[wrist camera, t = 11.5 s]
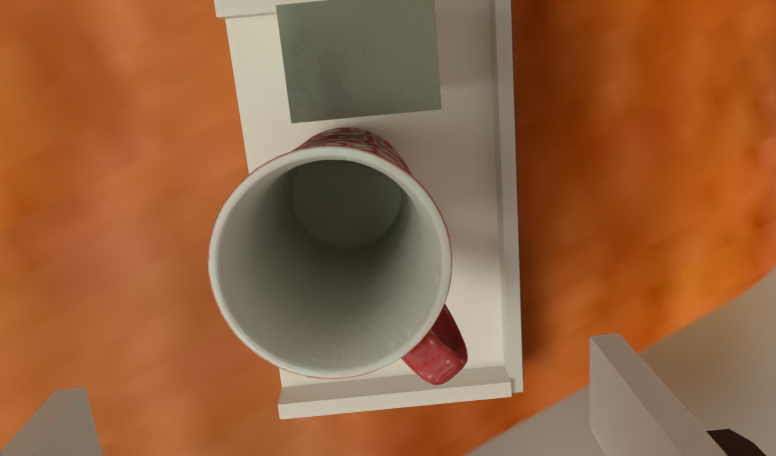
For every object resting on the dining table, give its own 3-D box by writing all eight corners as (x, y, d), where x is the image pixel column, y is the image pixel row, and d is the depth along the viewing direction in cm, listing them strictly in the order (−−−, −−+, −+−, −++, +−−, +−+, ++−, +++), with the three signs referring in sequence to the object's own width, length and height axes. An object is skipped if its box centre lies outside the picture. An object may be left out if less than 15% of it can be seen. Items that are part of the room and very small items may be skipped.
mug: (232, 176, 35) (153, 251, 22) (357, 75, 34) (349, 93, 21) (371, 335, 38) (371, 482, 25) (491, 247, 37) (556, 356, 24)
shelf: (230, 1, 35) (213, -5, 31) (498, -23, 35) (515, -32, 31) (287, 384, 41) (280, 419, 37) (512, 362, 41) (527, 395, 38)
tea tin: (299, 16, 33) (275, 4, 24) (415, 5, 33) (433, -10, 24) (309, 104, 34) (291, 123, 26) (422, 93, 34) (441, 109, 26)
